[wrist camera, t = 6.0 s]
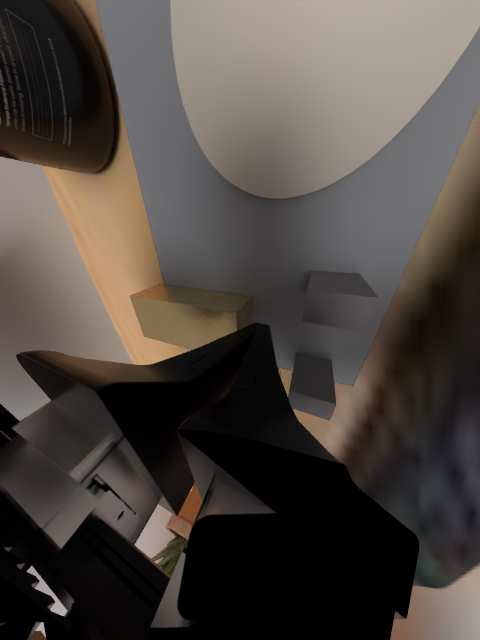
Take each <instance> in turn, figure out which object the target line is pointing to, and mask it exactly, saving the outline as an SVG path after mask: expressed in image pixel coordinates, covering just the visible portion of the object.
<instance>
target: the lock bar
mask: <svg viewBox="0 0 480 640" xmlns="http://www.w3.org/2000/svg"><path fill="white" fill-rule="evenodd" d="M130 298H131V301H132V304H133V307H134V309H135V312H136V315H137V318H138V320H139V323H140V326H141V329H142V332H143V334H144V337H147V338H151V339H155V340H159V341H162V342H166V343H170V344H173V345H177V346H181V347H185V348H188V349H192V350H194V349H196V348H198V347H201V346H203V345H205V344H209V343H210V342H212V341H214V340H217V339H219V338H221V337H224V336H226V335H228V334H230V333H233V332H235V331H237V330H239V329H242V328H244V327H246V326H248V325H251V324H252V299H253V295H244V294H236V293H228V292H220V291H212V290H203V289H195V288H187V287H179V286H171V285H163V284H159V285H156V286H153V287H151V288H148V289H146V290H143V291H140V292H138V293H135V294H133V295H130Z"/></svg>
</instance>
